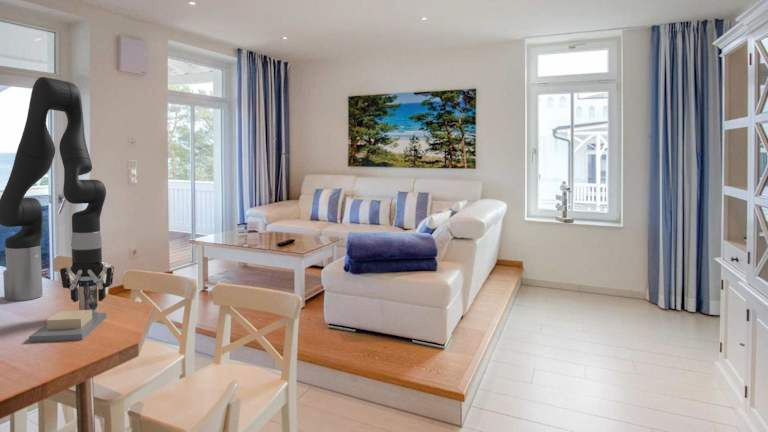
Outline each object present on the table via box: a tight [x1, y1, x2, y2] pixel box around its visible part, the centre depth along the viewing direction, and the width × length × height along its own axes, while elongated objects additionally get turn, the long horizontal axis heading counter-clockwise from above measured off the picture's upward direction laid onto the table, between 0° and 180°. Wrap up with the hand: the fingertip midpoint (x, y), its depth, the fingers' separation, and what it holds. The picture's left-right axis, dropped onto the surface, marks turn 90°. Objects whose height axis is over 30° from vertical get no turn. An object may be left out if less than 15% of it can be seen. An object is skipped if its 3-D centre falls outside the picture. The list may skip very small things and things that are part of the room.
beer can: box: [78, 276, 99, 313], centre depth 139 cm, size 5×5×12 cm
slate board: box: [28, 309, 107, 343], centre depth 127 cm, size 12×18×4 cm, turn 14°
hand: (88, 300), depth 139 cm, fingers open, 6 cm apart
